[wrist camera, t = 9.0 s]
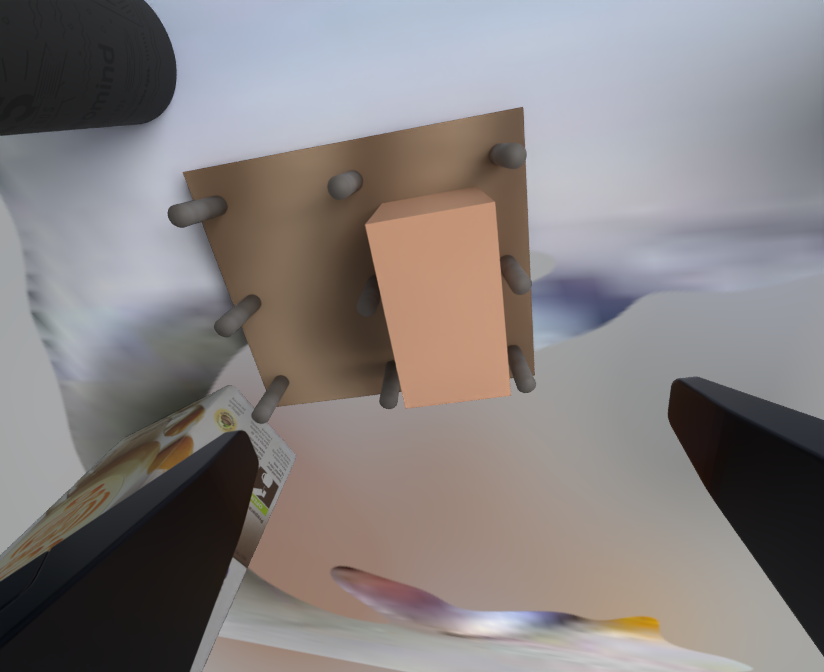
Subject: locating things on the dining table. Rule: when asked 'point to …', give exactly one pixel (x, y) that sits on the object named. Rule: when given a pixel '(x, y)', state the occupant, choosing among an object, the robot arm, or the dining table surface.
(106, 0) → the drinking cup
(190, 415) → the coffee box
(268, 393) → the brown peg board
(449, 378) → the peach rectangular block
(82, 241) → the dining table surface
